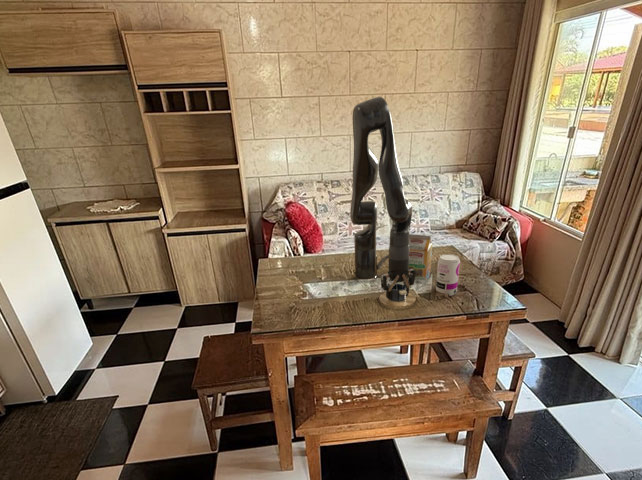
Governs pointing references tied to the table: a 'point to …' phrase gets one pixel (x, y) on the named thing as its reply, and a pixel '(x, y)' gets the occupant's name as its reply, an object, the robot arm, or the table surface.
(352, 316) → the table surface
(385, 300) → the turntable
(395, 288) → the dark grey basket
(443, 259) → the supplement can
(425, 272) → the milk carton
